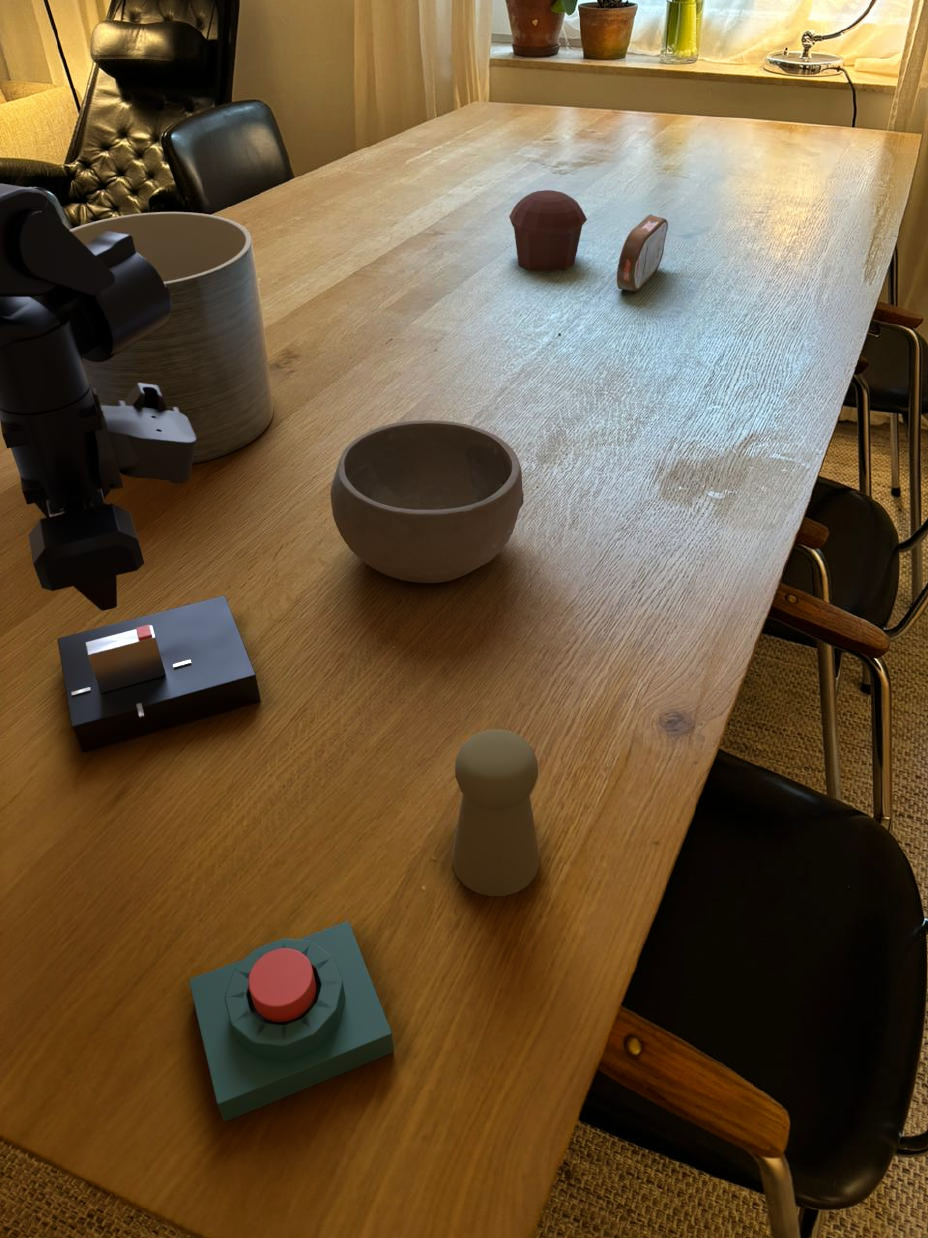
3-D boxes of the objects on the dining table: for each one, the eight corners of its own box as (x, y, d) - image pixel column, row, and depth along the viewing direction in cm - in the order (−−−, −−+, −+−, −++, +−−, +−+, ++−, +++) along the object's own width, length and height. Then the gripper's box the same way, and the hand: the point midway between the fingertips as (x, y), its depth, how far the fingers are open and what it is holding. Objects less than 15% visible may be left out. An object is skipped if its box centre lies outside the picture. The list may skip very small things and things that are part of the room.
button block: (224, 1123, 55) (211, 1089, 52) (195, 998, 60) (182, 962, 58) (394, 1052, 58) (390, 1017, 55) (351, 940, 63) (346, 903, 61)
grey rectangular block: (101, 693, 77) (86, 652, 74) (98, 680, 78) (84, 639, 75) (166, 675, 78) (154, 634, 75) (162, 662, 79) (151, 622, 76)
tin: (646, 262, 152) (652, 205, 146) (666, 265, 151) (673, 208, 145) (612, 297, 142) (617, 238, 136) (633, 301, 140) (639, 241, 135)
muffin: (494, 264, 152) (494, 196, 146) (533, 243, 159) (534, 177, 152) (560, 281, 147) (563, 211, 140) (597, 258, 153) (602, 190, 147)
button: (261, 1032, 55) (256, 1016, 54) (246, 977, 57) (241, 961, 56) (324, 1008, 56) (320, 992, 55) (306, 955, 58) (302, 939, 57)
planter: (241, 477, 106) (207, 293, 93) (48, 462, 109) (-11, 282, 96) (301, 382, 123) (279, 215, 110) (132, 371, 126) (92, 207, 113)
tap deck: (83, 764, 75) (72, 735, 73) (66, 664, 84) (56, 636, 82) (264, 710, 79) (258, 682, 77) (230, 621, 88) (224, 593, 86)
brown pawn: (459, 818, 71) (456, 709, 64) (544, 829, 70) (550, 720, 63) (444, 890, 66) (438, 781, 59) (534, 902, 65) (540, 793, 58)
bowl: (531, 508, 101) (534, 420, 94) (505, 619, 87) (506, 525, 81) (367, 493, 103) (359, 406, 97) (317, 599, 90) (304, 506, 83)
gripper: (201, 434, 58) (243, 636, 68) (148, 315, 71) (190, 498, 81) (-1, 476, 55) (75, 681, 65) (-17, 343, 68) (48, 531, 78)
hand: (104, 588), depth 72 cm, fingers open, 5 cm apart
